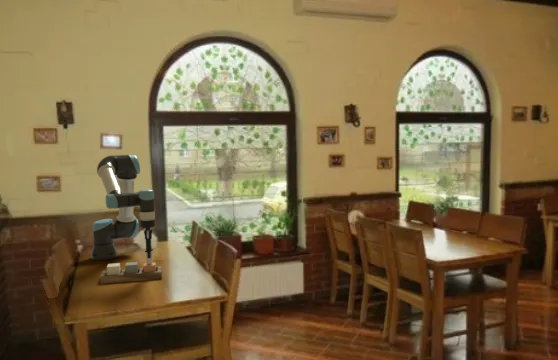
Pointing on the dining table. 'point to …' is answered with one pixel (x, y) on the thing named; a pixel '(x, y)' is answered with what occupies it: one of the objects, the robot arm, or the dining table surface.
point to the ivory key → (113, 269)
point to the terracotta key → (149, 267)
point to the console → (131, 276)
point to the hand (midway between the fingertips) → (149, 263)
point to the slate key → (131, 267)
